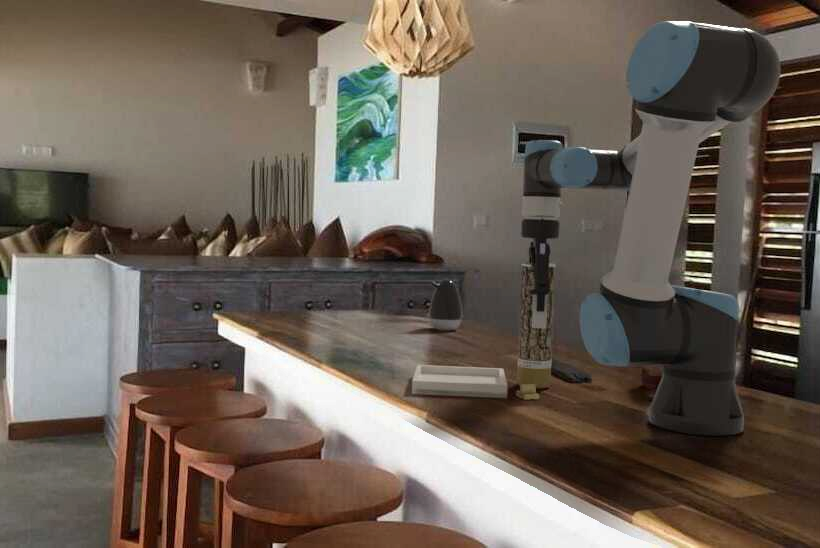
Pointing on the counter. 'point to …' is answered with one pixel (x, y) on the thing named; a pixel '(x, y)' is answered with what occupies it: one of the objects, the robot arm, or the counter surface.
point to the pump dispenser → (445, 306)
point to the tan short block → (527, 392)
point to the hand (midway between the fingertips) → (536, 323)
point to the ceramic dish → (459, 381)
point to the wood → (569, 372)
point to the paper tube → (535, 333)
